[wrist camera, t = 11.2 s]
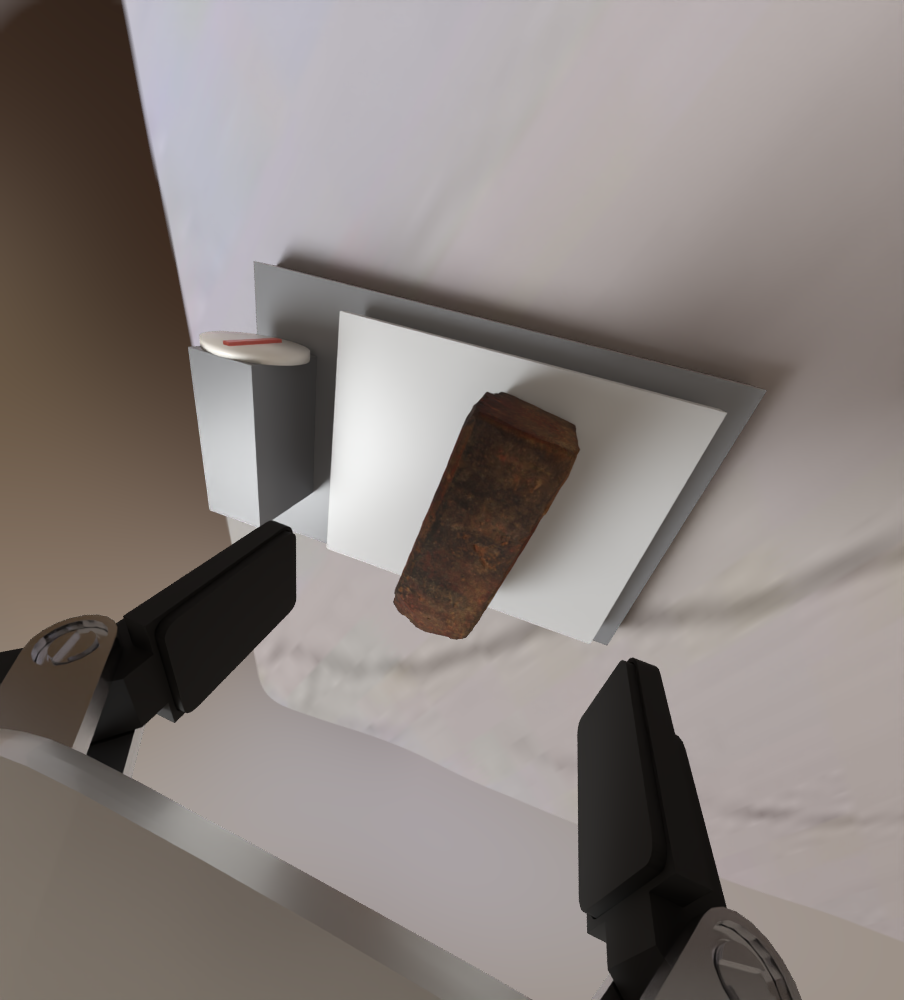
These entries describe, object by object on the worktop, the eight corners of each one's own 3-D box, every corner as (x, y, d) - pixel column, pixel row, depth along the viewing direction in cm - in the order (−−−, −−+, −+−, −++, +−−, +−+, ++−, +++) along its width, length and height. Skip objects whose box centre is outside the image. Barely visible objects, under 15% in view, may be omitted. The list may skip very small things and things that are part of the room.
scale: (749, 384, 15) (845, 416, 10) (604, 626, 23) (617, 717, 17) (271, 264, 19) (158, 241, 13) (277, 510, 26) (205, 558, 21)
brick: (492, 382, 15) (466, 404, 11) (578, 423, 15) (584, 460, 11) (415, 561, 21) (378, 620, 16) (478, 593, 20) (456, 661, 16)
